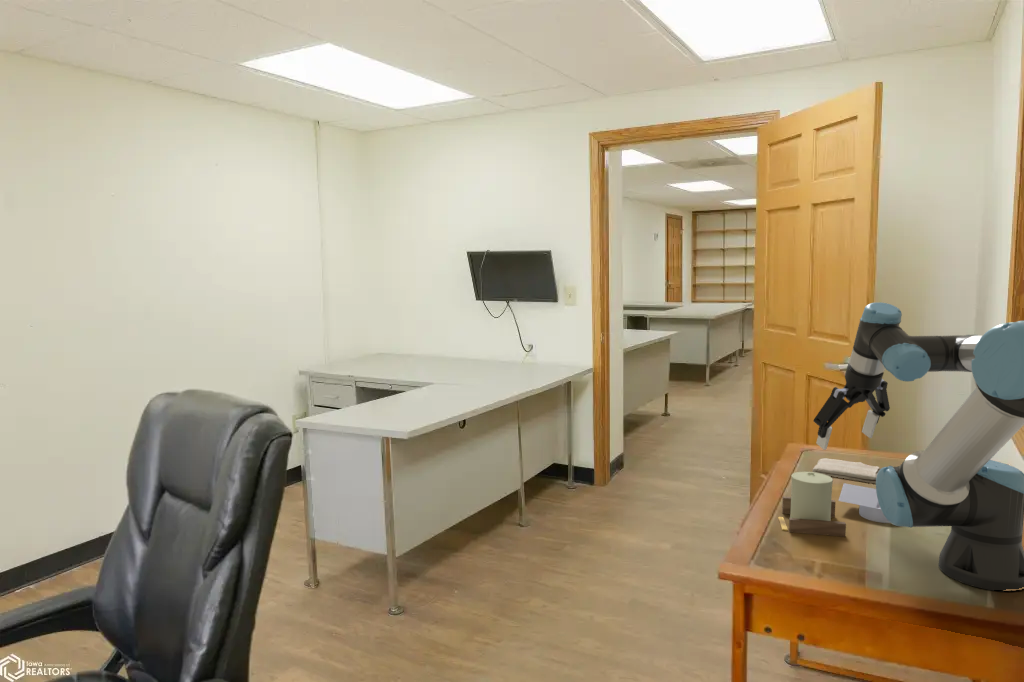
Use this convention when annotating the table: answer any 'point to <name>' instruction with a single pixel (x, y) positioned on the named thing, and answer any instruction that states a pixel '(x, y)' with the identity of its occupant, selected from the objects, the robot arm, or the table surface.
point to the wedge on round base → (863, 501)
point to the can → (811, 496)
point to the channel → (812, 522)
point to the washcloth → (847, 470)
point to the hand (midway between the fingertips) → (844, 440)
